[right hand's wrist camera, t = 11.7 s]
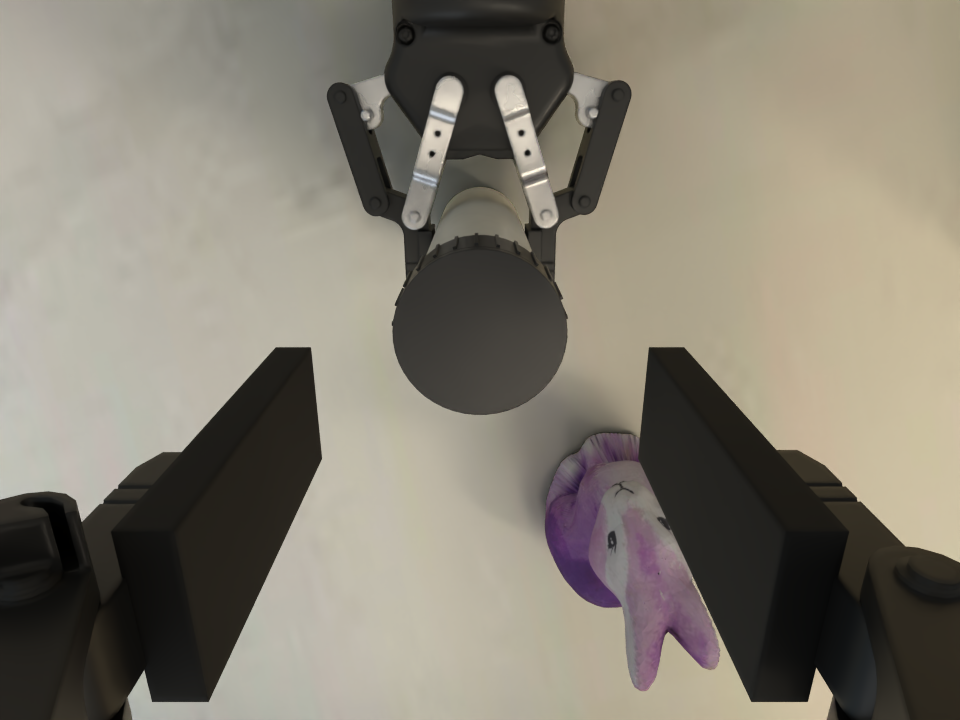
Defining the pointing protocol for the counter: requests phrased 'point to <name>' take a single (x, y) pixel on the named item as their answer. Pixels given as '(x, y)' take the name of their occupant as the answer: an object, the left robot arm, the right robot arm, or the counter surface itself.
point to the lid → (479, 325)
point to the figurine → (625, 553)
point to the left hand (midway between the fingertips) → (481, 298)
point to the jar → (480, 217)
